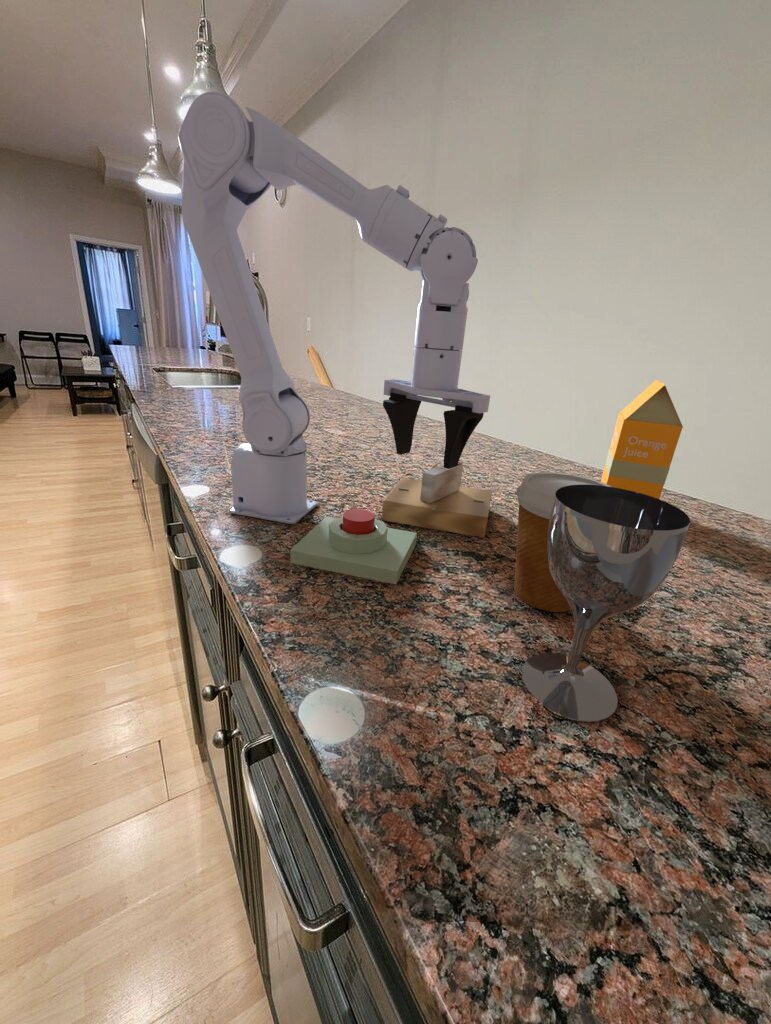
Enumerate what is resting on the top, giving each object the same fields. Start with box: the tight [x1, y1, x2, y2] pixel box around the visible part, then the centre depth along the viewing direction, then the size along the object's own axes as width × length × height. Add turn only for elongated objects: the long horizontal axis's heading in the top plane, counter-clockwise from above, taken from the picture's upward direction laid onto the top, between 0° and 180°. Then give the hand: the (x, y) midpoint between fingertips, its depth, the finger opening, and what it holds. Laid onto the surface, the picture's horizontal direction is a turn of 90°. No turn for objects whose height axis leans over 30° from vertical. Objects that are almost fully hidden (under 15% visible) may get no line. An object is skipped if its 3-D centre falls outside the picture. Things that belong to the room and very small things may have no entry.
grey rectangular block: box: [420, 461, 464, 503], centre depth 63 cm, size 8×2×4 cm, turn 142°
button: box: [342, 508, 376, 535], centre depth 50 cm, size 4×4×2 cm
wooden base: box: [381, 477, 493, 538], centre depth 64 cm, size 14×12×3 cm
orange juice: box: [600, 378, 684, 499], centre depth 69 cm, size 8×9×20 cm
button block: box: [289, 516, 418, 585], centre depth 51 cm, size 12×10×4 cm
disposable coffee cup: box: [513, 471, 611, 613], centre depth 44 cm, size 10×10×12 cm
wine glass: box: [521, 485, 691, 723], centre depth 32 cm, size 8×8×15 cm
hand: (425, 459), depth 58 cm, fingers open, 7 cm apart
